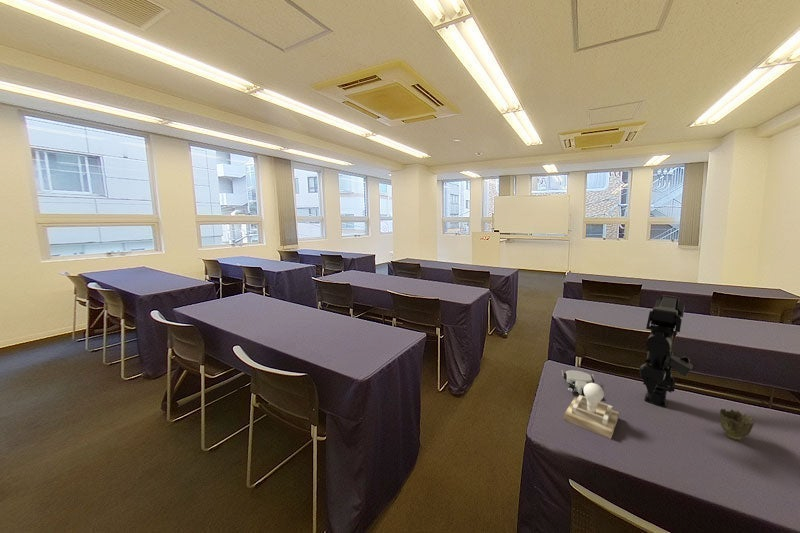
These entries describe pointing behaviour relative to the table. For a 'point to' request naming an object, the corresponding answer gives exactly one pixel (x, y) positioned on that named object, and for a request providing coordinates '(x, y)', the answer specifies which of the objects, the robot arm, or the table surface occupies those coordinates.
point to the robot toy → (577, 380)
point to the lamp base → (592, 417)
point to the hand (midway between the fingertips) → (653, 389)
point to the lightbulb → (593, 396)
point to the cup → (735, 424)
